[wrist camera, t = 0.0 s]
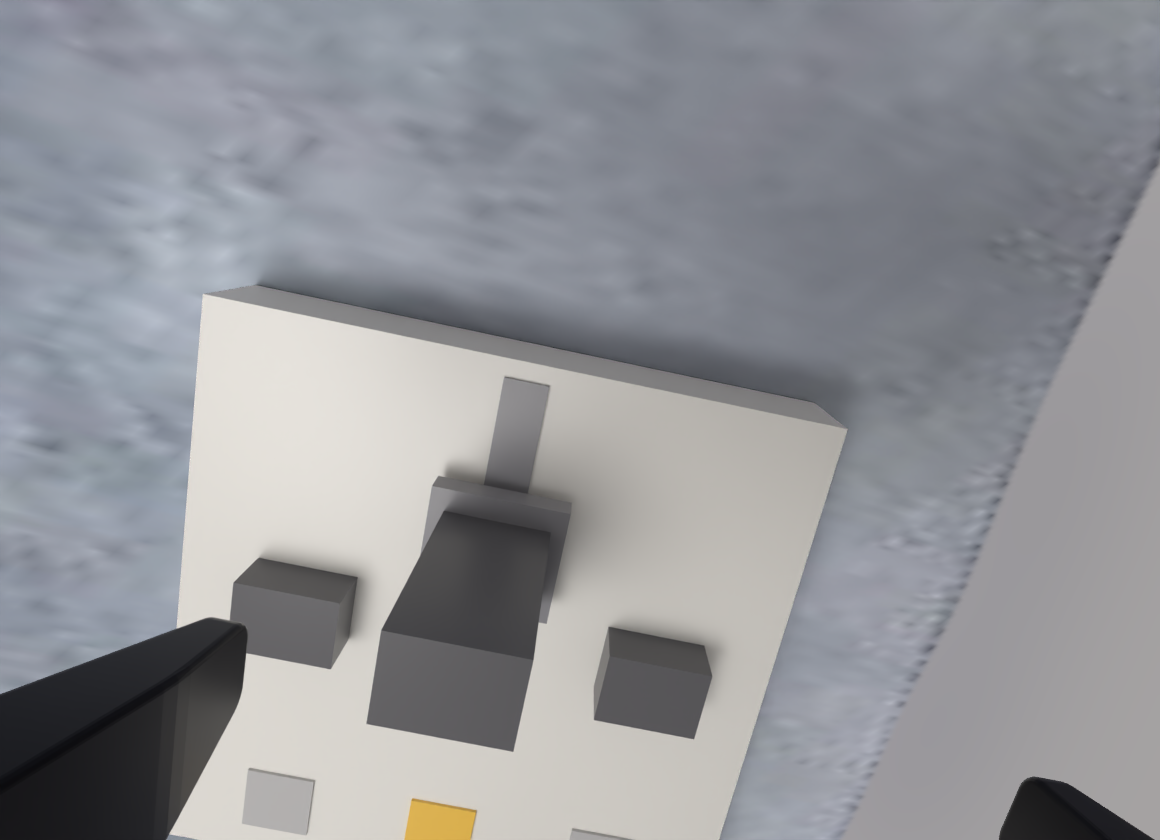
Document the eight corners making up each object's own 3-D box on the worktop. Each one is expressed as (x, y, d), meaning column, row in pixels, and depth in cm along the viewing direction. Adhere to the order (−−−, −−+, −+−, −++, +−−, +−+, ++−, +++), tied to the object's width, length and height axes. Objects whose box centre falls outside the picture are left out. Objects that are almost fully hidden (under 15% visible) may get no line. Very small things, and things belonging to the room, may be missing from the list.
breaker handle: (548, 609, 20) (528, 782, 14) (419, 583, 20) (341, 746, 14) (571, 503, 20) (561, 635, 13) (437, 475, 20) (363, 596, 13)
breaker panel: (680, 853, 27) (697, 975, 22) (208, 764, 26) (131, 872, 22) (814, 403, 22) (868, 445, 18) (255, 284, 22) (170, 299, 17)
